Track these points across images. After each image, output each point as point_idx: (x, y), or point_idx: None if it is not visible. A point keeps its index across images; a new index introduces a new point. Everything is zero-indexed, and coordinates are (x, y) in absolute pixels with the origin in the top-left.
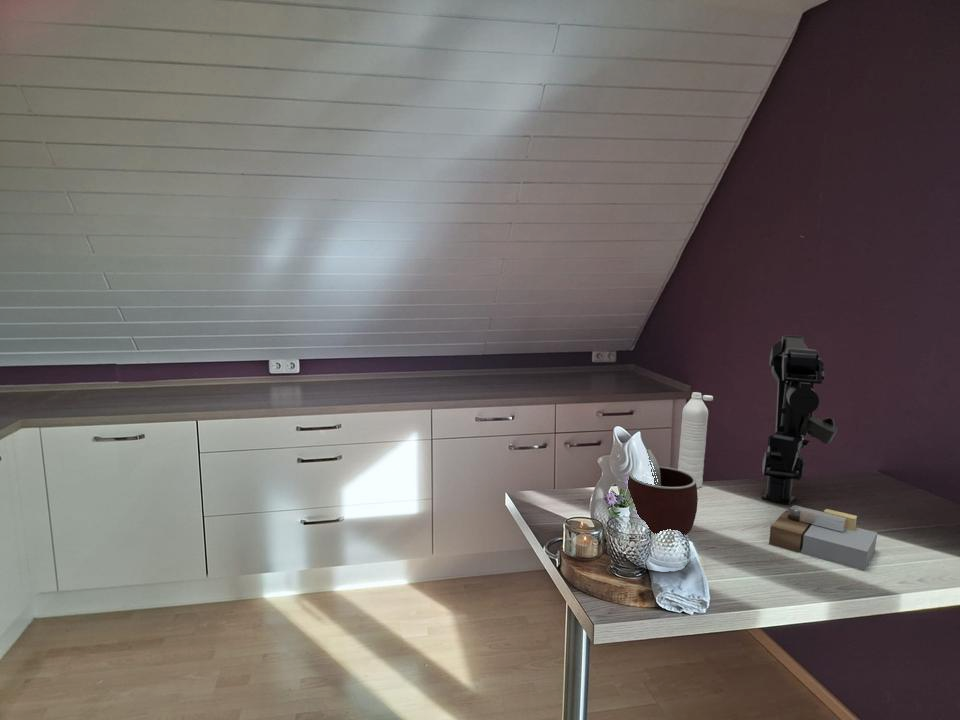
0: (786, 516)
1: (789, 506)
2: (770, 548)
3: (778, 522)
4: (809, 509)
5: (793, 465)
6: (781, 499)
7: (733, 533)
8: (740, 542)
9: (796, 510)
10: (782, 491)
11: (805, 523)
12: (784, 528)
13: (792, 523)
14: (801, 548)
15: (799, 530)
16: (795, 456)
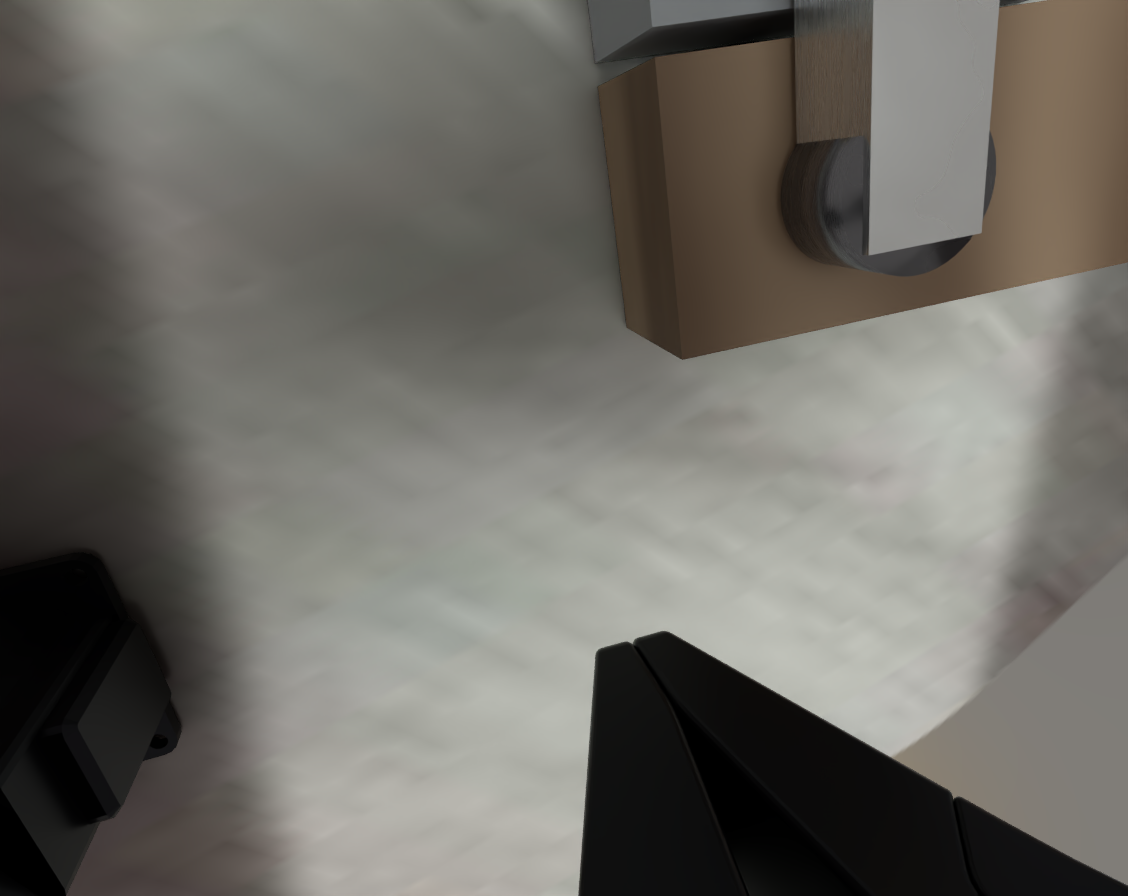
0: (842, 276)
1: (909, 272)
2: None
3: (1019, 257)
4: (898, 44)
5: (745, 695)
6: (103, 624)
7: (969, 475)
8: (1070, 379)
9: (981, 162)
10: (65, 676)
11: None
12: (1119, 157)
13: None
14: None
15: (1096, 33)
16: (1102, 880)
